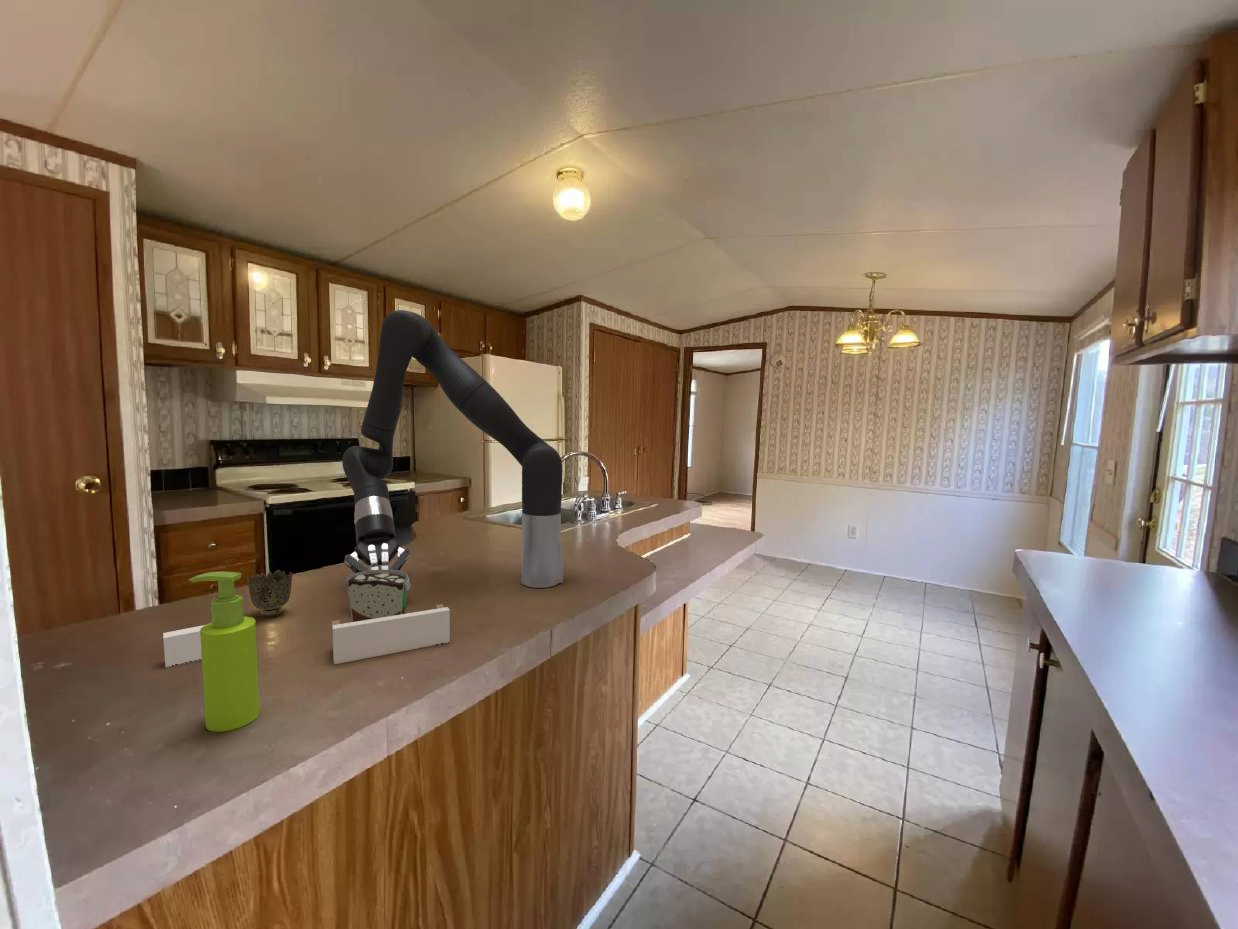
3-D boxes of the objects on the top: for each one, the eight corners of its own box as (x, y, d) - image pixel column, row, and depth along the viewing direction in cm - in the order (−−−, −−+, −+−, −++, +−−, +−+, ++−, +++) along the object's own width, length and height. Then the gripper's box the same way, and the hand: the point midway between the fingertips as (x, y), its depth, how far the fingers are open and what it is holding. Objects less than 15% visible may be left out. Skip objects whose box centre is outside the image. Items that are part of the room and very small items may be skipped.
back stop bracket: (442, 629, 101) (442, 598, 101) (449, 642, 96) (449, 610, 96) (332, 649, 92) (331, 615, 92) (334, 664, 87) (332, 629, 86)
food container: (423, 619, 106) (422, 570, 105) (407, 632, 100) (406, 580, 99) (363, 615, 107) (362, 566, 106) (345, 628, 101) (343, 576, 100)
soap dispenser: (216, 707, 74) (208, 566, 72) (268, 706, 75) (262, 567, 73) (186, 732, 68) (176, 581, 66) (243, 731, 69) (235, 581, 67)
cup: (302, 612, 108) (300, 573, 107) (264, 625, 101) (263, 584, 100) (278, 605, 111) (276, 567, 110) (240, 617, 104) (238, 577, 103)
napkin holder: (137, 676, 83) (134, 640, 82) (193, 643, 94) (191, 612, 93) (236, 677, 83) (234, 642, 83) (280, 644, 94) (279, 613, 94)
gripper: (340, 514, 109) (345, 591, 100) (408, 510, 116) (419, 581, 107) (339, 534, 115) (344, 609, 105) (405, 529, 121) (415, 598, 112)
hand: (382, 595), depth 106 cm, fingers closed
